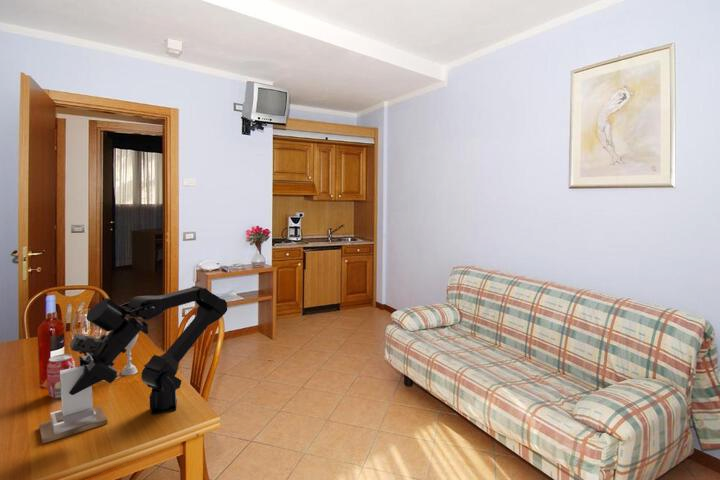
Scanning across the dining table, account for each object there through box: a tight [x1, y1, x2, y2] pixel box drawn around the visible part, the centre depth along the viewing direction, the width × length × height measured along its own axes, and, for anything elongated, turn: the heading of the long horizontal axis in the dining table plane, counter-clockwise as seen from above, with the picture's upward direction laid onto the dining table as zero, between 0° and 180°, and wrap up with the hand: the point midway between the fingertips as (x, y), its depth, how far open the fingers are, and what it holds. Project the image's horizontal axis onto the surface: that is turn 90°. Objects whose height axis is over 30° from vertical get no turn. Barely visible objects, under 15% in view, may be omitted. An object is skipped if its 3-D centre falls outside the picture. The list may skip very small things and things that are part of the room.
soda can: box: [46, 353, 76, 399], centre depth 125 cm, size 7×7×12 cm
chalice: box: [120, 334, 139, 376], centre depth 141 cm, size 7×7×18 cm
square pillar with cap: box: [55, 364, 94, 423], centre depth 100 cm, size 7×5×12 cm
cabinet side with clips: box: [38, 406, 108, 444], centre depth 108 cm, size 14×9×4 cm, turn 133°
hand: (69, 391), depth 99 cm, fingers closed on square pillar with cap, 3 cm apart
